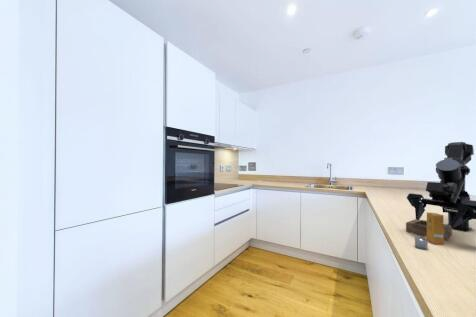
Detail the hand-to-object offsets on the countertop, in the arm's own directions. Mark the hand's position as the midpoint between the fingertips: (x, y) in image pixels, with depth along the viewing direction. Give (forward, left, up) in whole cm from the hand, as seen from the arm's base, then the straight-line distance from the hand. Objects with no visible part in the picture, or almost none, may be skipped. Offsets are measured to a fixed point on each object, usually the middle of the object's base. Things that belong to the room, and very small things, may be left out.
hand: (433, 223), depth 66 cm
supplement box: (-1, 0, -7) cm, 7 cm away
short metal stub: (+9, -1, -7) cm, 11 cm away
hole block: (-11, -4, -7) cm, 14 cm away
